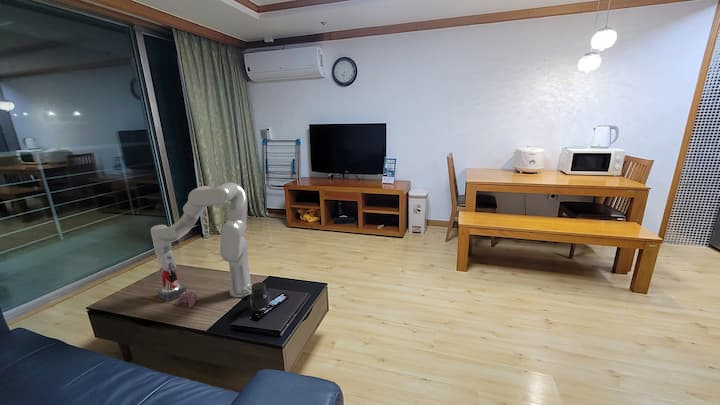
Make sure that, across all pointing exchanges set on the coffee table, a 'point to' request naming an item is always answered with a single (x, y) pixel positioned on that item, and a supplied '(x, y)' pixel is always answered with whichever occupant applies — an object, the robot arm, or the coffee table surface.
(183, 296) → the video game controller
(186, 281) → the coffee table surface
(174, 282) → the soda can
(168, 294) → the motor block
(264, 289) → the ink bottle
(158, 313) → the coffee table surface
